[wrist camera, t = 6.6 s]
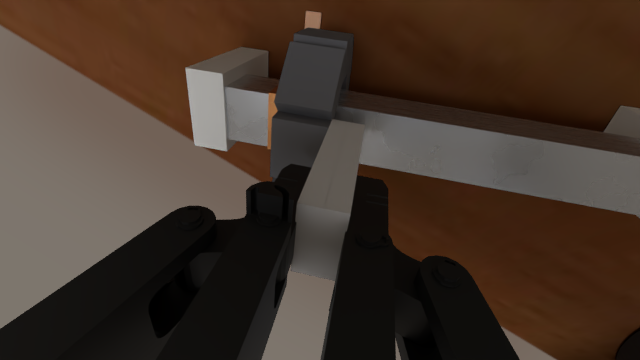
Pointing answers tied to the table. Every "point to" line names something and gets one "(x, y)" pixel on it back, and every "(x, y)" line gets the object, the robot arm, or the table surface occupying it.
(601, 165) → the light grey bar
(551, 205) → the table surface
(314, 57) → the ring
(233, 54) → the stand
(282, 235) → the robot arm
